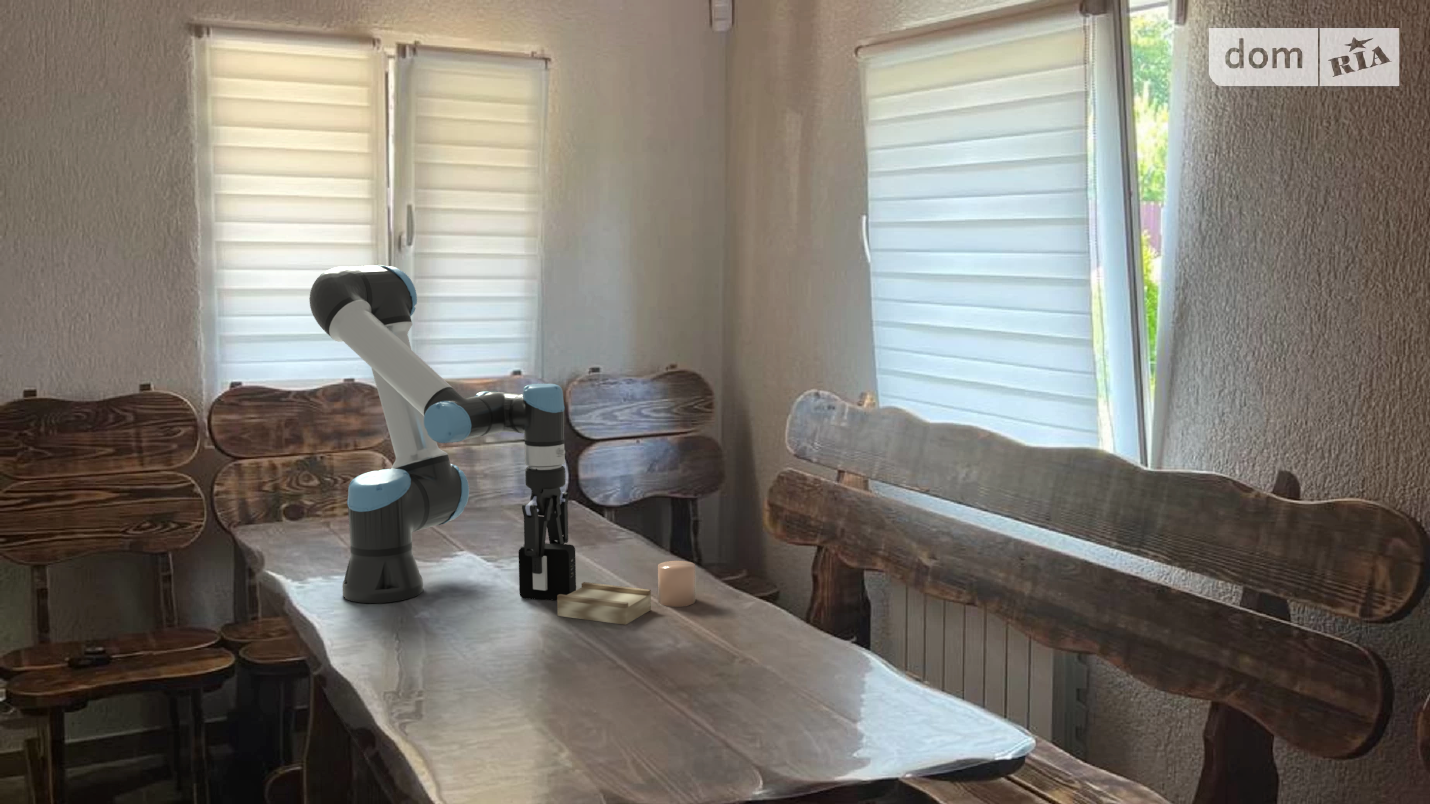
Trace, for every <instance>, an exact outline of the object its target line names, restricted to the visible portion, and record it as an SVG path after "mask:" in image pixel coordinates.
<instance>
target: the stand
mask: <svg viewBox="0 0 1430 804" xmlns="http://www.w3.org/2000/svg"><path fill="white" fill-rule="evenodd" d="M651 594H652V593H651V589H646V588H638V587H629V586H622V585H614V584H613V585H612V584H603V583H596V582H586V581H583V582H582V583H581V587H579V588H577V589H576V591H574V592H572V593H570V594H568V595H563V594H559V595H557V607H556V608H557V609H556V610H557V617H565V618H573V619H580V620H586V621H594V622H600V623H601V622H603V623H609V624H616V625H617V624H618V625H625V626H626V625H628V624H630V623H631V622H633V621H634V620H636V619H638V618H640V617H641V616H643V615H645V614H646V613H648V612H649V611H652V603H651V602H652V595H651Z"/></svg>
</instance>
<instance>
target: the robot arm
mask: <svg viewBox="0 0 1430 804" xmlns="http://www.w3.org/2000/svg"><path fill="white" fill-rule="evenodd" d="M309 293H310V294H309V297H308V298H309V307H310V311H311V314H312V316H313V318H314V320H315V321H316V323H317V324H318V326H320V329H322V330H323V331H324V332H325V333H326V334H327V335H328V336H329V337H330V338H331V339H332V340H334V341H335V342H341V343H342V342H344V343H345V344H346V346H347V347H349V349H351V350H352V351H353V352H354V353H355V354H356V355H357V356H359V357H360V358H361V360H363V361H364V362H365V363H366V364H367V365H368V366H369V367H370V368H371V371H372V375H373V378H374V379H373V380H374V381H375V385H376V389H377V393H378V396H379V400H380V403H381V408H382V412H383V415H384V418H385V424H386V427H387V429H388V434H389V437H390V441H391V445H392V448H393V452H394V457H395V460H394V462H393V464H392V466H391V467H390V468H383V469H380V470H371V471H368V472H364V473H362V474H359V475H357V476H356V477H354V478H352V480H351V481H350V483H349V484H348V491H347V492H348V493H347V495H348V496H347V500H346V502H347V503H346V504H347V509H348V528H349V529H348V530H349V545H350V548H349V549H350V555H349V560H348V565H347V567H346V572H345V575H344V580H343V582H342V587H341V588H342V596H344V597H345V598H344V597H343V598H344V599H346V600H348V601H350V600H351V602H355V603H360V604H361V603H363V604H381V603H382V604H383V603H392V602H393V603H394V602H400V601H404V600H408V599H412V598H414V597H417V596H419V595H420V594H422V593H423V591H424V582H423V581H424V579H423V576H422V575H421V573H420V570H419V567H418V564H417V561H416V558H415V555H414V552H413V533H415V532H419V531H421V530H425V529H429V528H432V527H436V526H441V525H445V524H446V523H448V522H450V521H453V520H455V519H457V518H458V517H459V516H460V515H461V514H463V512H464V510H465V507H466V506H467V505H468V501H469V497H470V486H469V481H468V478H467V476H466V474H465V473H464V471H463V470H461V469H460V468H459V466H457V465H456V464H452V463H451V461H450V457H449V453H448V452H446V451H445V450H442V449H441V448H440V447H439V445H438V444H447V443H448V444H449V443H452V444H453V443H459V442H462V441H465V440H469V439H473V438H478V437H485V436H490V435H493V434H498V433H519V434H523V438H524V465H525V466H527V467H525V469H524V475H525V476H524V478H525V479H524V480H525V486H526V488H529V489H530V491H531V492H530V493H531V495H530V499H529V500H530V501H529V502H528V503H523V504H521V509H522V510H521V511H522V514H523V528H524V529H523V536H524V537H523V540H524V541H523V542H524V544H523V545H524V550H525V555H527V556H531V557H532V571H533V589H536V590H544V591H546V590H547V556H544V549H545V543H546V538H547V535H548V542H549V544H568V542H569V510H568V509H569V508H568V506H569V504H568V503H569V497H570V493H569V492H563V491H561V488H563V487H564V486H565V484H566V467H565V466H564V464H565V463H566V459H565V458H566V457H565V456H566V450H565V434H564V433H565V408H566V407H565V402H564V391H563V388H562V387H561V386H560V385H559V384H555V383H533V384H532V383H530V384H527V385H526V386H524V387H523V390H522V391H523V392H522V393H514V392H506V391H505V392H503V391H497V390H490V391H479V392H477V393H476V394H475V395H474V396H470V397H464V396H463V395H462V394H460V392H458V391H457V390H456V389H455V388H454V387H452V385H451V384H449V383H448V381H446V380H445V379H444V378H443V377H442V376H441V375H439V373H438V372H436V371H435V370H434V369H433V368H432V367H431V366H430V365H429V364H428V363H426V361H424V360H423V359H422V358H421V356H419V355H418V354H417V353H416V352H415V351H414V350H413V349H412V346H411V343H410V339H409V336H408V335H409V334H408V333H409V332H410V330H411V328H412V326H413V320H412V316H413V314H414V313H415V310H416V307H415V306H416V305H417V304H418V295H417V290H416V287H415V285H414V283H413V281H412V280H411V277H410V276H408V274H406V272H404V271H402V270H401V269H399V268H398V267H396V266H391V265H390V266H389V265H383V264H374V265H364V266H363V265H361V266H360V265H359V266H337V267H333V268H330V269H327V270H326V271H324V272H323V273H321V274H320V275H318V277H317V278H316V279H315V281H314V283H313V284H312V286H311V289H310V291H309Z"/></svg>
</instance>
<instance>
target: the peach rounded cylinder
mask: <svg viewBox="0 0 1430 804" xmlns="http://www.w3.org/2000/svg"><path fill="white" fill-rule="evenodd" d="M657 582H658V583H657V585H658V587H657V588H658V589H657V593H658V595H657V597H658V604H660V605H661V606H666V607H673V608H675V607H676V608H677V607H678V608H679V607H687V606H691V605H693V604H695V603H696V564H695V563H693V562H691V561H687V560H686V561H685V560H670V561H669V560H667V561H663V562H661V563H658V565H657Z"/></svg>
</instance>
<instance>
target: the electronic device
mask: <svg viewBox="0 0 1430 804" xmlns="http://www.w3.org/2000/svg"><path fill="white" fill-rule="evenodd" d="M544 556H547V590H546V591H544V590H536V589H533V571H532V557H531V556H527V555H525V550H524V544H523V545H522V546H520V548H519V550H518V582H519V583H518V584H519V587H518V589H519V596H520V598H521V599H524V600H539V601H540V600H541V601H557V595H559V594H563V595H568V594H570V593H572V592H574V591H576V590H577V574H576V572H577V571H576V567H577V566H576V563H577V562H576V547H575V546H574V545H573V544H568V543H564V544H550V543H546V542H545V549H544Z"/></svg>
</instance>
